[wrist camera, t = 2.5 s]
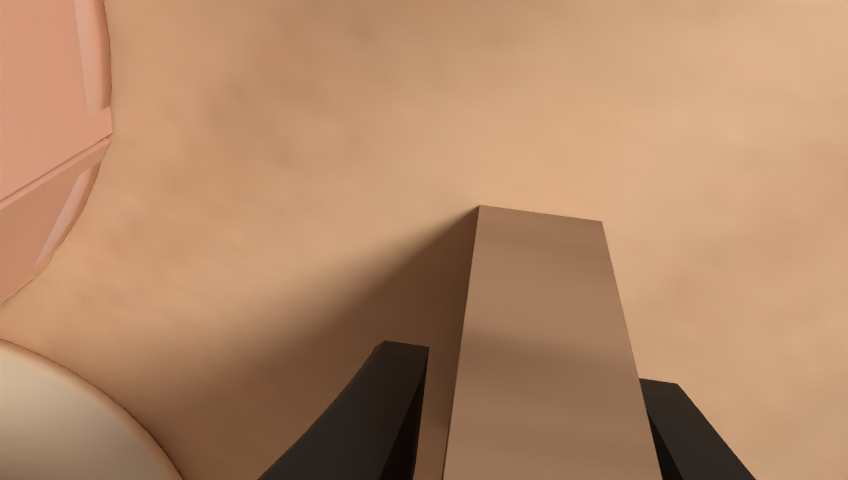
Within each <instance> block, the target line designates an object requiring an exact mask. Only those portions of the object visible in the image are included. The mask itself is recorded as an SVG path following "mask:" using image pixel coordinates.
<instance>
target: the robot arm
mask: <svg viewBox="0 0 848 480" xmlns="http://www.w3.org/2000/svg"><path fill="white" fill-rule="evenodd" d="M428 353H429V347H425V346H418V345H411V344H405V343H398V342H391V341H383V342H382V343H380V344H379V345H377V346H376V347H375V348H374V350H373V352H372V353H371V355H370V356H369V358H368V359H367V360H366V362H365V363H364V364H363V366H362V367H361V368H360V370H359V371H358V372H357V374H356V375H355V376H354V377H353V379H352V380H351V381H350V382H349V384H348V385H347V386H346V387H345V388H344V390H343V391H342V392H341V393H340V395H339V396H338V397H337V398H336V399H335V400H334V402H333V403H332V404H331V405H330V406H329V407H328V408H327V409H326V410H325V411H324V413H323V414H322V415H321V416H320V417H319V418H318V419H317V420H316V421H315V422H314V424H313V425H312V426H311V427H310V428H309V429H308V430H307V431H306V432H305V433H304V434H303V435H302V437H301V438H300V439H299V440H298V441H297V442H296V443H295V444H294V445H293V446H292V447H291V448H289V449H288V450H287V451H286V452H285V453H284V454H283V455H282V456H281V457H280V458H279V459H278V460H277V461H276V462H275V463H274V464H273V465H272V466H271V467H270V468H269V469H268V470H267V471H266V472H265V473H264V474H263V475H262V476H261V477H260V478H259V479H257V480H413V475H414V469H415V463H416V456H417V447H418V438H419V430H420V421H421V413H422V404H423V396H424V387H425V378H426V370H427V361H428ZM639 382H640V386H641V390H642V395H643V399H644V403H645V407H646V412H647V416H648V420H649V424H650V429H651V433H652V437H653V441H654V446H655V450H656V454H657V458H658V463H659V467H660V471H661V475H662V480H756V479H755V478H754V477H753V476H752V474H751V473H750V472H749V471H748V470H747V468H746V467H745V466H744V465H743V464H742V462H741V461H740V460H739V459H738V458H737V456H736V455H735V454H734V453H733V451H732V450H731V449H730V448H729V447H728V445H727V444H726V443H725V442H724V440H723V439H722V438H721V437H720V435H719V434H718V433H717V432H716V431H715V429H714V428H713V427H712V426H711V424H710V423H709V422H708V421H707V419H706V418H705V417H704V416H703V414H702V413H701V412H700V411H699V409H698V408H697V407H696V406H695V404H694V403H693V402H692V401H691V399H690V398H689V397H688V396H687V395H686V393H685V392H684V391H683V390H682V389H681V388H680V386H679V385H678V384H675V383H668V382H661V381H655V380H648V379H641V378H639Z"/></svg>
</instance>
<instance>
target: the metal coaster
mask: <svg viewBox="0 0 848 480" xmlns="http://www.w3.org/2000/svg"><path fill="white" fill-rule="evenodd" d="M0 480H182V478H181V476H180V475H179V473H178V472H177V470H176V469H175V467H174V466H173V464H172V462H171V461H170V459H169V458H168V456H167V455H166V454H165V452H164V451H163V450H162V449H161V448H160V446H159V445H158V444H157V443H156V442H155V440H154V439H153V438H152V437H151V436H150V434H149V433H148V432H147V431H146V430H145V429H144V428H143V427H142V426H141V425H140V424H139V423H138V422H137V421H136V420H135V419H134V418H133V417H132V416H131V415H129V414H128V413H127V412H126V411H125V410H124V409H123V408H122V407H120V406H119V405H118V404H117V403H115V402H114V401H113V400H112V399H110V398H109V397H108V396H107V395H105V394H104V393H103V392H102V391H100V390H99V389H97V388H96V387H94V386H93V385H91V384H90V383H88V382H87V381H85V380H84V379H82V378H81V377H79V376H78V375H76V374H75V373H73V372H71V371H69V370H68V369H66V368H64V367H62V366H60V365H58V364H56V363H55V362H53V361H51V360H49V359H47V358H45V357H43V356H41V355H39V354H36V353H34V352H32V351H29V350H27V349H25V348H22V347H20V346H18V345H15V344H13V343H10V342H7V341H4V340H1V339H0Z"/></svg>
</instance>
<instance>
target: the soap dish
mask: <svg viewBox="0 0 848 480" xmlns="http://www.w3.org/2000/svg"><path fill="white" fill-rule="evenodd" d="M111 90H112V86H111V61H110V38H109V32H108V26H107V20H106V13H105V7H104V1H103V0H0V305H1V304H2V303H3V302H4V301H6V300H7V299H8V298H9V297H11V296H12V295H13V294H14V293H16V292H17V291H18V290H19V289H21V288H22V287H23V286H24V285H26V284H27V283H28V282H29V281H30V280H32V279H33V278H34V277H35V276H37V275H38V274H39V273H40V272H41V271H42V270H44V269H45V268H46V266H47V265H48V263H49V261H50V259H51V257H52V255H53V253H54V251H55V250H56V249H57V248H58V246H59V245H60V244H61V243H62V242H63V241H64V239H65V238H66V236H67V235H68V233H69V231H70V230H71V228H72V227H73V225H74V224H75V222H76V220H77V219H78V217H79V216H80V214H81V213H82V211H83V209H84V206H85V204H86V202H87V199H88V197H89V194H90V192H91V190H92V187H93V185H94V182H95V180H96V178H97V175H98V171H99V167H100V163H101V160H102V158H103V156H104V154H105V152H106V150H107V148H108V146H109V144H110V142H111V140H110V139H108V138H107V136H108V135H109V134H111V133H113V129H112V120H111V111H110V101H111Z"/></svg>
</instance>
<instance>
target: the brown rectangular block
mask: <svg viewBox="0 0 848 480" xmlns="http://www.w3.org/2000/svg"><path fill="white" fill-rule="evenodd" d="M441 480H662V475H661V471H660V467H659V463H658V458H657V454H656V450H655V446H654V441H653V437H652V433H651V429H650V424H649V420H648V416H647V412H646V407H645V403H644V399H643V395H642V390H641V386H640V382H639V378H638V373H637V369H636V365H635V361H634V356H633V352H632V348H631V344H630V339H629V335H628V331H627V327H626V322H625V318H624V314H623V310H622V305H621V301H620V297H619V293H618V288H617V284H616V280H615V276H614V271H613V267H612V263H611V259H610V254H609V250H608V246H607V242H606V237H605V233H604V229H603V225H602V222H601V221H593V220H586V219H578V218H571V217H563V216H556V215H549V214H541V213H534V212H526V211H519V210H512V209H504V208H497V207H489V206H482V205H480V207H479V214H478V221H477V228H476V235H475V242H474V250H473V257H472V264H471V271H470V278H469V285H468V292H467V299H466V307H465V314H464V321H463V328H462V335H461V342H460V349H459V357H458V364H457V371H456V378H455V385H454V392H453V399H452V407H451V414H450V421H449V428H448V435H447V443H446V450H445V457H444V465H443V472H442V479H441Z"/></svg>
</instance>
